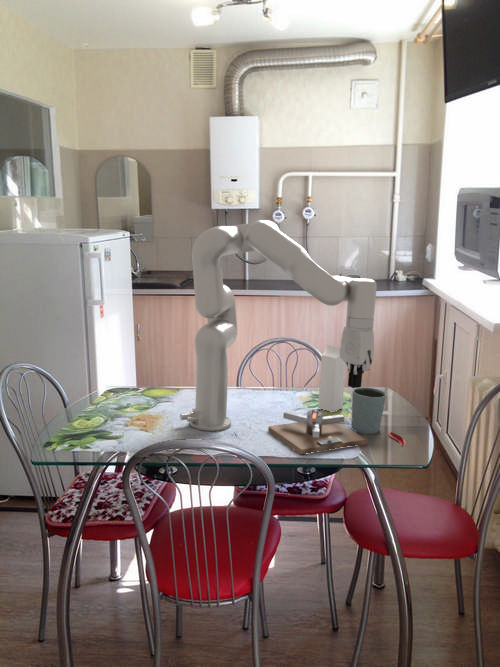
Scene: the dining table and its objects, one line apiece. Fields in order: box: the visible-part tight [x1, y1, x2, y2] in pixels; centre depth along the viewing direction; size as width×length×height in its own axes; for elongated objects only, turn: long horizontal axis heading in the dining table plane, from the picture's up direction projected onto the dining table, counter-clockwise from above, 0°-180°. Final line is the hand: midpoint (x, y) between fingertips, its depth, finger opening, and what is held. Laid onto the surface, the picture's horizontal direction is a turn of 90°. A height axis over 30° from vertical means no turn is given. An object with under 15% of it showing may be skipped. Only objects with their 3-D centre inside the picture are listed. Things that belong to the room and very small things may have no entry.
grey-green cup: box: [351, 386, 387, 435], centre depth 183 cm, size 10×10×12 cm
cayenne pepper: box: [387, 431, 407, 448], centre depth 177 cm, size 12×5×2 cm, turn 173°
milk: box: [317, 344, 347, 412], centre depth 200 cm, size 6×6×22 cm
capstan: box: [282, 409, 346, 438], centre depth 174 cm, size 16×18×6 cm
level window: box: [317, 438, 342, 446], centre depth 167 cm, size 7×2×1 cm, turn 116°
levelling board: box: [267, 422, 368, 456], centre depth 175 cm, size 22×19×2 cm
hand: (354, 386), depth 169 cm, fingers closed
